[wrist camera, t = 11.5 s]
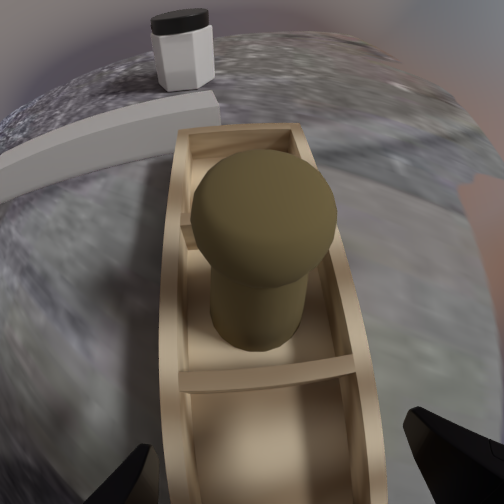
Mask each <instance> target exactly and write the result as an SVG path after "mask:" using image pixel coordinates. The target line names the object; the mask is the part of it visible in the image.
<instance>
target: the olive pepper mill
mask: <svg viewBox="0 0 504 504" xmlns="http://www.w3.org/2000/svg"><path fill="white" fill-rule="evenodd" d="M190 222H191V226H192V230H193V234H194V238H195V241H196V244H197V248H198V249H199V250H200V252H201V253H202V255H203V256H204V257H205V259H206V260H207V261H208V263H209V264H210V265H211V279H210V316H211V319H212V322H213V326H214V328H215V329H216V330H217V332H218V333H219V335H220V336H221V337H222V339H224V340H225V341H226V342H228V343H229V344H231V345H232V346H233V347H235V348H238V349H242V350H245V351H248V352H266V351H269V350H272V349H275V348H278V347H280V346H281V345H283V344H284V343H286V342H287V341H288V340H290V339H291V338H292V336H293V335H294V334H295V332H296V331H297V329H298V328H299V326H300V323H301V319H302V315H303V310H304V303H305V296H306V289H307V282H308V274H309V272H310V271H312V270H313V269H314V268H315V267H317V266H318V265H319V264H320V262H321V261H322V259H323V258H324V256H325V254H326V253H327V251H328V250H329V248H330V246H331V244H332V242H333V240H334V235H335V229H336V224H337V208H336V204H335V200H334V196H333V193H332V191H331V189H330V187H329V185H328V183H327V182H326V180H325V179H324V177H323V176H322V175H321V173H320V172H319V171H318V170H317V169H315V168H314V167H313V166H312V165H311V164H309V163H308V162H307V161H305V160H303V159H301V158H299V157H296V156H294V155H292V154H289V153H285V152H281V151H276V150H263V149H254V150H248V151H243V152H238V153H235V154H233V155H231V156H228V157H226V158H224V159H222V160H220V161H219V162H218V163H216V164H215V165H214V166H213V167H212V168H210V169H209V170H208V171H207V173H206V174H205V176H204V177H203V179H202V180H201V182H200V183H199V185H198V187H197V188H196V190H195V192H194V196H193V202H192V208H191V216H190Z"/></svg>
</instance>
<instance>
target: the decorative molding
mask: <svg viewBox="0 0 504 504" xmlns="http://www.w3.org/2000/svg"><path fill="white" fill-rule="evenodd" d="M220 125H221V119H220V108H219V104H218V102H217V100H216V98H215V96H214V93H213V91H212V90H210V91H202V92H195V93H189V94H183V95H177V96H172V97H166V98H161V99H157V100H152V101H147V102H143V103H139V104H135V105H131V106H127V107H123V108H119V109H116V110H112V111H109V112H105V113H102V114H99V115H95V116H92V117H89V118H86V119H83V120H80V121H77V122H74V123H72V124H69V125H66V126H63V127H61V128H58V129H56V130H53V131H51V132H48V133H46V134H43V135H41V136H39V137H36V138H34V139H32V140H29V141H27V142H25V143H23V144H21V145H19V146H17V147H15V148H13V149H10V150H8V151H7V152H5V153H3V154H1V155H0V204H2V203H4V202H7V201H9V200H12V199H14V198H16V197H19V196H21V195H24V194H27V193H29V192H32V191H35V190H38V189H40V188H43V187H46V186H49V185H52V184H55V183H58V182H61V181H65V180H68V179H71V178H74V177H78V176H81V175H84V174H88V173H91V172H94V171H98V170H102V169H106V168H109V167H113V166H117V165H121V164H125V163H130V162H134V161H138V160H143V159H147V158H152V157H157V156H162V155H167V154H173V153H174V152H175V146H176V140H177V134H178V130H179V129H188V128H197V127H208V126H220Z"/></svg>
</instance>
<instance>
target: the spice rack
mask: <svg viewBox="0 0 504 504" xmlns="http://www.w3.org/2000/svg"><path fill="white" fill-rule="evenodd" d="M254 149H263V150H276V151H281V152H285V153H289V154H292V155H294V156H296V157H299V158H301V159H303V160H305V161H307V162H308V163H309V164H311V165H312V166H313V167H314V168H315V169H317V166H316V163H315V161H314V158H313V156H312V153H311V150H310V148H309V145H308V143H307V140H306V138H305V135H304V133H303V130H302V128H301V126H300V123H257V124H235V125H220V126H208V127H197V128H188V129H179V130H178V134H177V140H176V146H175V152H174V158H173V165H172V171H171V179H170V186H169V194H168V202H167V211H166V220H165V230H164V241H163V253H162V267H161V284H160V307H159V384H160V407H161V423H162V436H163V447H164V457H165V465H166V474H167V481H168V488H169V495H170V501H171V504H388V494H387V475H386V462H385V451H384V441H383V432H382V424H381V416H380V409H379V402H378V396H377V389H376V383H375V378H374V372H373V366H372V361H371V356H370V351H369V346H368V341H367V337H366V332H365V327H364V323H363V319H362V314H361V310H360V306H359V302H358V298H357V294H356V290H355V286H354V282H353V279H352V275H351V271H350V268H349V264H348V261H347V257H346V254H345V250H344V247H343V243H342V240H341V237H340V234H339V230H338V227H337V224H336V229H335V235H334V240H333V242H332V244H331V246H330V248H329V250H328V251H327V253H326V254H325V256H324V258H323V259H322V261H321V262H320V264H319V265H318V266H317V267H315V268H314V269H313V270H312V271H310V272H309V274H308V282H307V289H306V296H305V303H304V310H303V315H302V319H301V323H300V326H299V328H298V329H297V331H296V332H295V334H294V335H293V336H292V338H291V339H290V340H288V341H287V342H286V343H284V344H283V345H281V346H280V347H278V348H275V349H272V350H269V351H266V352H248V351H245V350H242V349H238V348H235V347H233V346H232V345H231V344H229V343H228V342H226V341H225V340H224V339H222V337H221V336H220V335H219V333H218V332H217V330H216V329H215V328H214V326H213V322H212V319H211V316H210V279H211V265H210V264H209V263H208V261H207V260H206V259H205V257H204V256H203V255H202V253H201V252H200V250H199V249H198V248H197V244H196V241H195V238H194V234H193V230H192V226H191V222H190V216H191V208H192V202H193V196H194V192H195V190H196V188H197V187H198V185H199V183H200V182H201V180H202V179H203V177H204V176H205V174H206V173H207V171H208V170H209V169H210V168H212V167H213V166H214V165H215V164H216V163H218V162H219V161H220V160H222V159H224V158H226V157H228V156H231V155H233V154H235V153H238V152H243V151H248V150H254ZM317 170H318V169H317Z"/></svg>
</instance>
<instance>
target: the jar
mask: <svg viewBox="0 0 504 504" xmlns="http://www.w3.org/2000/svg"><path fill="white" fill-rule="evenodd" d="M151 29H152V33H151V40H152V46H153V52H154V58H155V64H156V70H157V76H158V81H159V84H160V85H161V86H162V87H163V88H164V89H165V90H166V91H167V92H174V91H183V90H194V89H199V88H200V87H202V86H203V85H205V84H206V83H208V82H209V81H211V80H213V79H214V78H215V70H214V53H213V34H212V26H211V25H209V15H208V10H207V9H202V8H200V9H199V8H197V9H196V8H195V9H184V10H177V11H172V12H168V13H164V14H161V15H157V16H155V17H153V18H151Z"/></svg>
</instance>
